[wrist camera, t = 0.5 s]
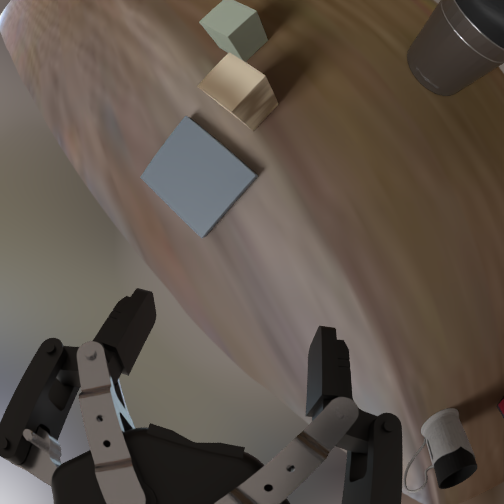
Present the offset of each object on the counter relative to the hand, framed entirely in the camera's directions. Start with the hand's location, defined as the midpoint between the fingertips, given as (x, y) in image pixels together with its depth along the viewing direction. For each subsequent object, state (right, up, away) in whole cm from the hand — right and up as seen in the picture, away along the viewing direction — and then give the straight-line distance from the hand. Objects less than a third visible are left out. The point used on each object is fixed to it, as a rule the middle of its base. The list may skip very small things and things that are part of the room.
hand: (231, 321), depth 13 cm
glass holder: (+36, -32, +25) cm, 55 cm away
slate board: (-7, +14, +24) cm, 28 cm away
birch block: (+1, +22, +20) cm, 30 cm away
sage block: (0, +33, +18) cm, 37 cm away
